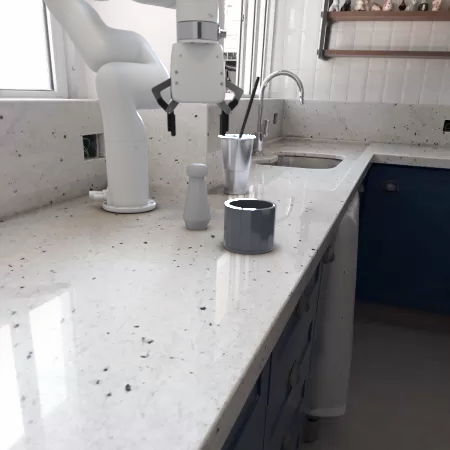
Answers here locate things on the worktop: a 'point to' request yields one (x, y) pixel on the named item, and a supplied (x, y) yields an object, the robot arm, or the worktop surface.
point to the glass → (237, 156)
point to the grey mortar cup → (249, 226)
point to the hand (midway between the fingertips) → (198, 135)
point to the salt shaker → (196, 198)
